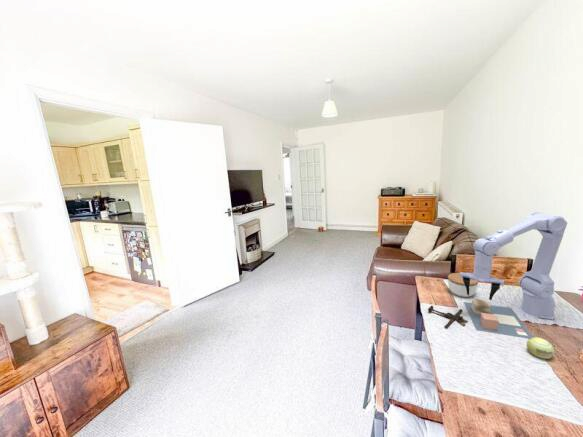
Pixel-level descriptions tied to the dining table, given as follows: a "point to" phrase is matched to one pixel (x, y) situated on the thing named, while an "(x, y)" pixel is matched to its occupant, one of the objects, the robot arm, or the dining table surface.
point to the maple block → (481, 306)
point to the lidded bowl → (461, 285)
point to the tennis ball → (540, 348)
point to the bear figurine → (449, 316)
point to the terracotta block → (489, 321)
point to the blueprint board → (501, 321)
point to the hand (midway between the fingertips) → (478, 296)
